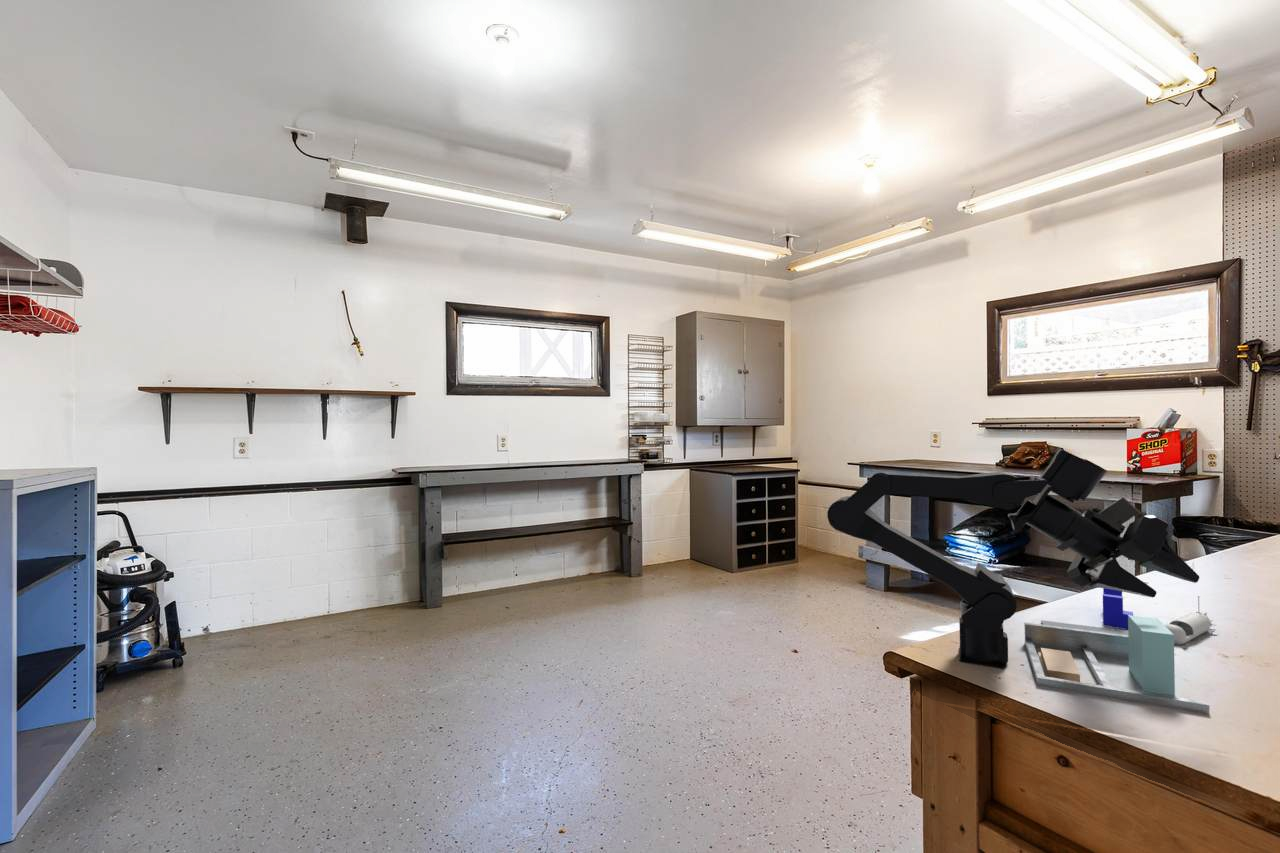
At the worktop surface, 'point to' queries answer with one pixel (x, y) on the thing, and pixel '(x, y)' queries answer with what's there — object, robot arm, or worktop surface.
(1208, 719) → the worktop surface
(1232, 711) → the worktop surface
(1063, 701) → the worktop surface
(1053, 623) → the rubber mat
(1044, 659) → the upper offcut
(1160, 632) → the pale teal block
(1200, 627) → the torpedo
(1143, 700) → the rack
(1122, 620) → the blue piece
